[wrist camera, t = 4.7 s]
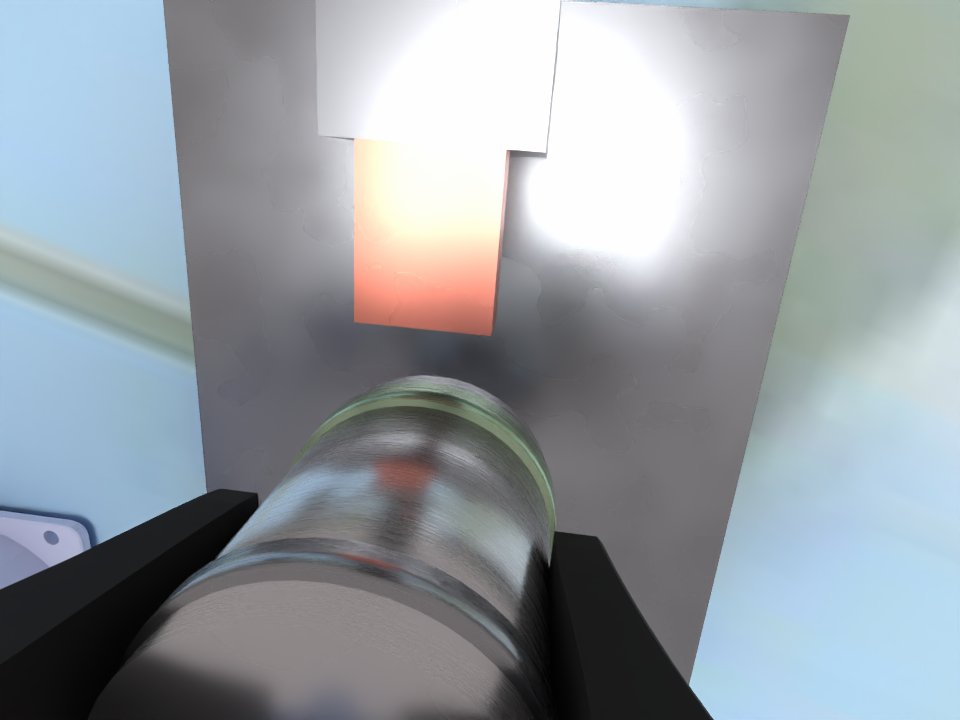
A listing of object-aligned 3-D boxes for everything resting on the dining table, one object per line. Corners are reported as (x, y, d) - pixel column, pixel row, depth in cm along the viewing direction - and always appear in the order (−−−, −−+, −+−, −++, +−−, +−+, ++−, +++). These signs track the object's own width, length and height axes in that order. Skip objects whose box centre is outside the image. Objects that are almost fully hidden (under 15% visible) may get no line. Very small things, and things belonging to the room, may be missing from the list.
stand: (244, 613, 20) (88, 841, 13) (200, -2, 14) (-118, -155, 7) (670, 675, 18) (738, 959, 12) (816, 32, 13) (1108, -116, 6)
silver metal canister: (316, 570, 12) (107, 932, 6) (312, 357, 10) (33, 579, 5) (541, 601, 12) (534, 1018, 6) (569, 384, 10) (594, 661, 4)
